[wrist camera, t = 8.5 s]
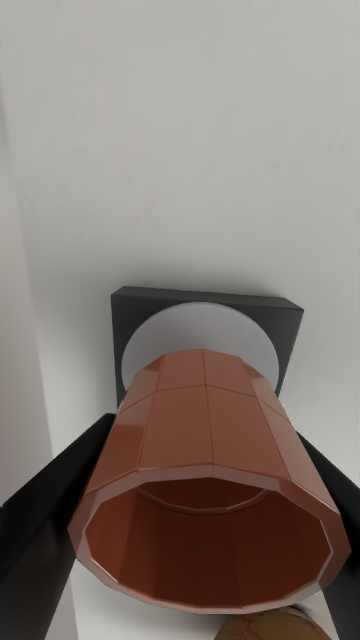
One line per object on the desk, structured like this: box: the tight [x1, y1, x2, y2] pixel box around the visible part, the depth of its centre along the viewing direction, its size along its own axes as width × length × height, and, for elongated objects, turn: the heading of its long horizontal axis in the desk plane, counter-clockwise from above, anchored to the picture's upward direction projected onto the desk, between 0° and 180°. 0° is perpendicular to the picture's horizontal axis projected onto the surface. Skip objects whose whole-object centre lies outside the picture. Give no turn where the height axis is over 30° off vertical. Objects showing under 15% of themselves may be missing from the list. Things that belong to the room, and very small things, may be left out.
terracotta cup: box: [67, 348, 352, 614], centre depth 7 cm, size 6×6×4 cm
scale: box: [111, 286, 304, 409], centre depth 14 cm, size 22×9×3 cm, turn 176°
